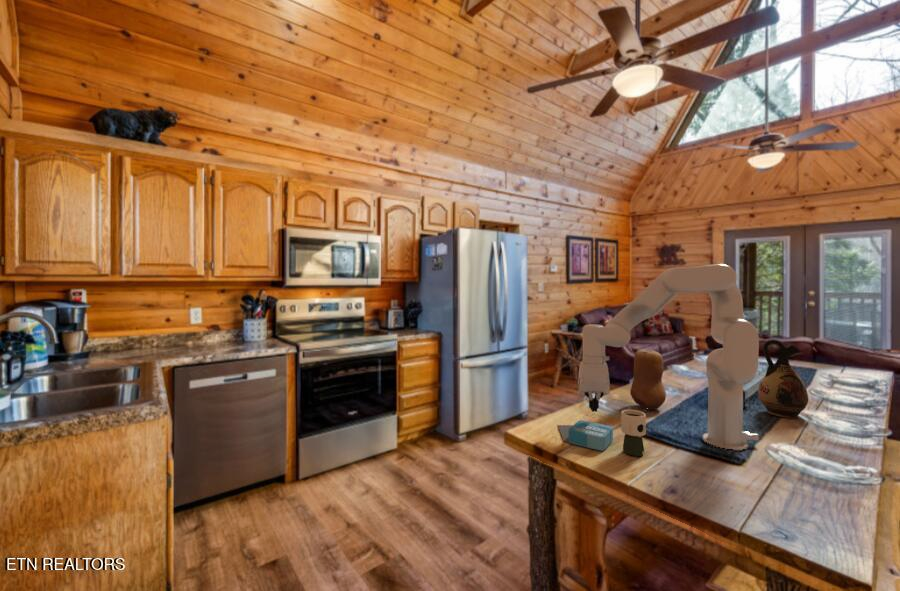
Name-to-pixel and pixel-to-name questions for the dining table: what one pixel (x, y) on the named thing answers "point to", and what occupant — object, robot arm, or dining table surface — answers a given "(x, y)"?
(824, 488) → the dining table surface
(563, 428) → the mat
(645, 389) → the butternut squash
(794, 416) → the ceramic jug
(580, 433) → the data package
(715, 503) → the dining table surface
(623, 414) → the character mug
